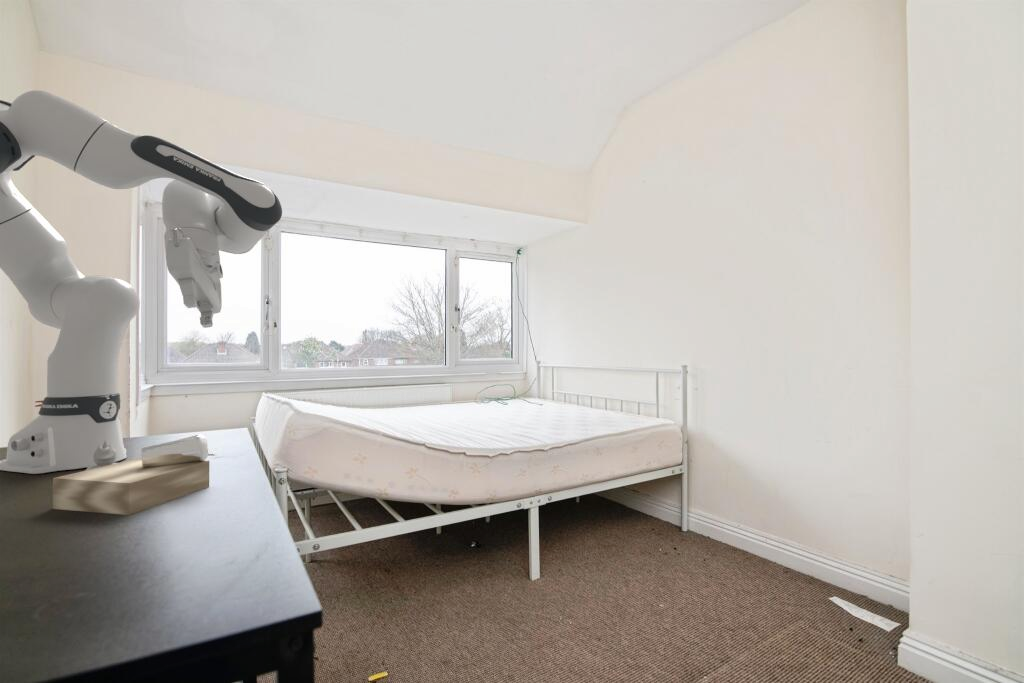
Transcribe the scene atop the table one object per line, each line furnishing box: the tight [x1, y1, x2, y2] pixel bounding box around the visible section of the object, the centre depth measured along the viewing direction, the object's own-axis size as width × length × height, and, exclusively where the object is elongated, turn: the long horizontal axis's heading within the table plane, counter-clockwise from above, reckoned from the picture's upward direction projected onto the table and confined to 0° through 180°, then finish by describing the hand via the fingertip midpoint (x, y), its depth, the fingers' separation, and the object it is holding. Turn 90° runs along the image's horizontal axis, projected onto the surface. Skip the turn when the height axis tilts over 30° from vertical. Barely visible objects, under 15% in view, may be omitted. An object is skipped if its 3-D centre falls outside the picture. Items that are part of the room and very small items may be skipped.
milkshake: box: [140, 433, 215, 468], centre depth 81 cm, size 4×5×10 cm
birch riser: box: [52, 456, 210, 516], centre depth 77 cm, size 14×14×5 cm
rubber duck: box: [84, 441, 117, 471], centre depth 84 cm, size 5×7×8 cm
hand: (199, 316), depth 90 cm, fingers open, 8 cm apart
